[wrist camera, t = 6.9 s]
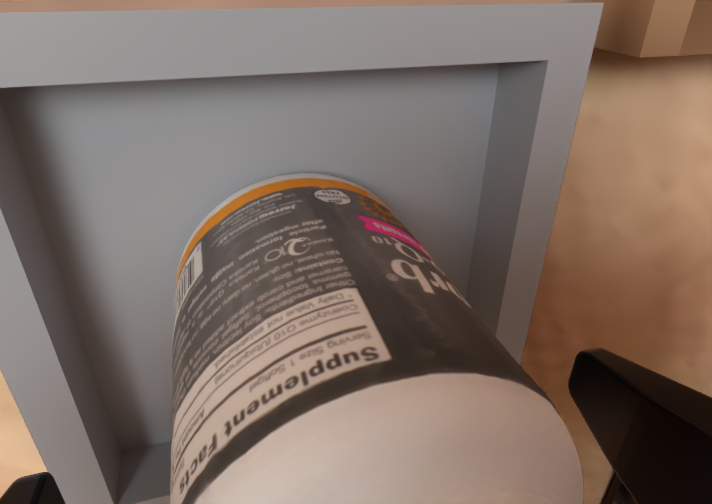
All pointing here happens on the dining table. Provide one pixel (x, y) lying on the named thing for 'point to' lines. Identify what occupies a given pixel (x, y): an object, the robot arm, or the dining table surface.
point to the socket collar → (655, 27)
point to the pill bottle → (345, 366)
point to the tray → (251, 176)
